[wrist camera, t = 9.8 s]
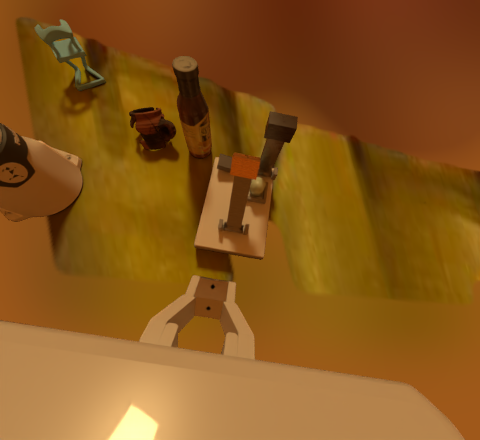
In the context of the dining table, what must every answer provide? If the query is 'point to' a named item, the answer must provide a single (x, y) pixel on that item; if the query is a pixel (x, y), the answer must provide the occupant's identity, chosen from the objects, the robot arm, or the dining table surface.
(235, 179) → the lever orange
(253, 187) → the push button
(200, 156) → the sauce bottle
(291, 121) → the lever black
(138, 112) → the pottery mug
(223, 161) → the block
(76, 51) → the chair
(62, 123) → the dining table surface
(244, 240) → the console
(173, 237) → the dining table surface
